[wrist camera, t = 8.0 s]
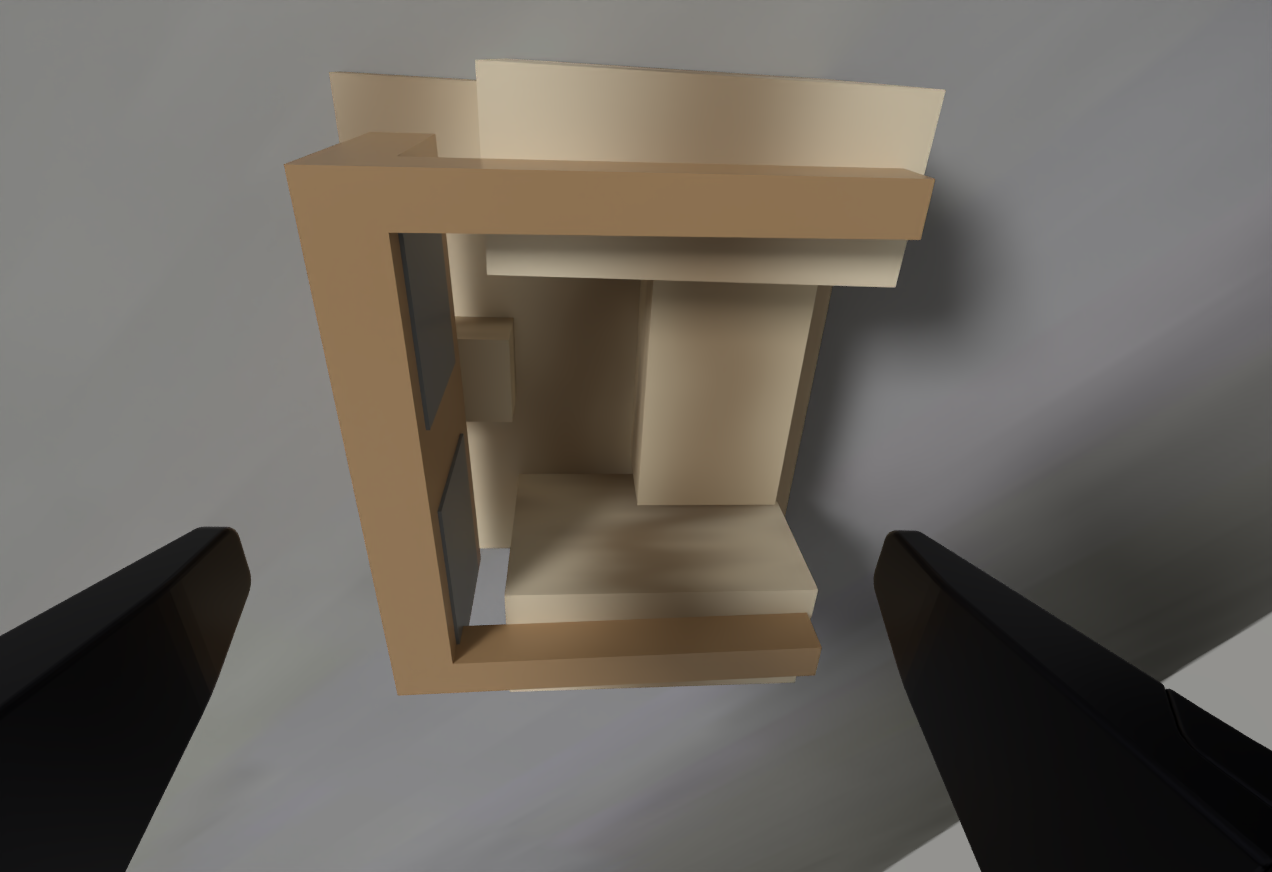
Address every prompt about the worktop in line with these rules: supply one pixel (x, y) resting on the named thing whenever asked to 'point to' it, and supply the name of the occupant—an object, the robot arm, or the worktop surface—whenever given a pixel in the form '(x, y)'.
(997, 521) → the worktop surface
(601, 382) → the wooden block stand
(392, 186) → the glasses
